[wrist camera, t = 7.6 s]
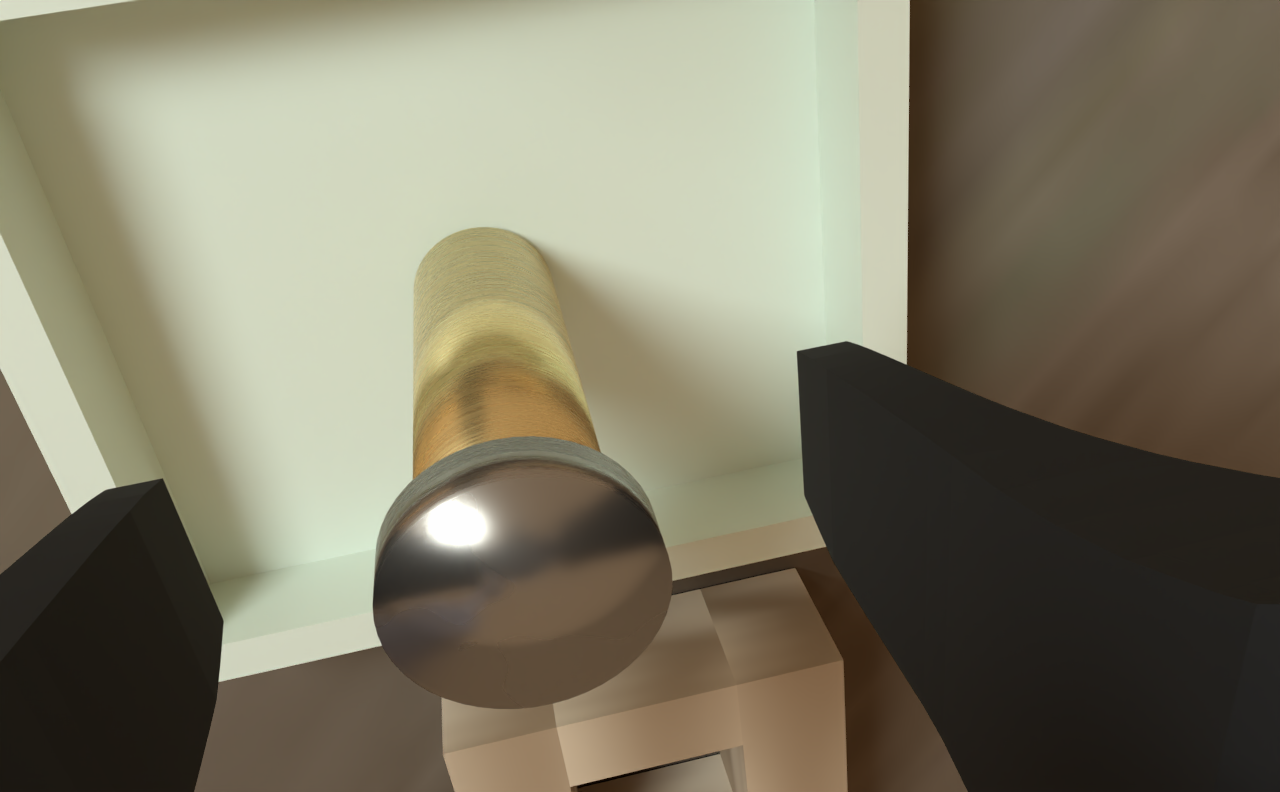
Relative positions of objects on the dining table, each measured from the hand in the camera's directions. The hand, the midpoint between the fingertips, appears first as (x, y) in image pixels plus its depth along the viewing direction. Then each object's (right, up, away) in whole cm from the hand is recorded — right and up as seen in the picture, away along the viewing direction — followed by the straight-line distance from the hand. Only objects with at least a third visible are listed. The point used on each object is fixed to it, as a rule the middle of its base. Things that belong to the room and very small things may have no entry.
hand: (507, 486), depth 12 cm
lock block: (+2, -7, +12) cm, 14 cm away
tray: (-1, +3, +6) cm, 7 cm away
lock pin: (-1, +3, +6) cm, 7 cm away
